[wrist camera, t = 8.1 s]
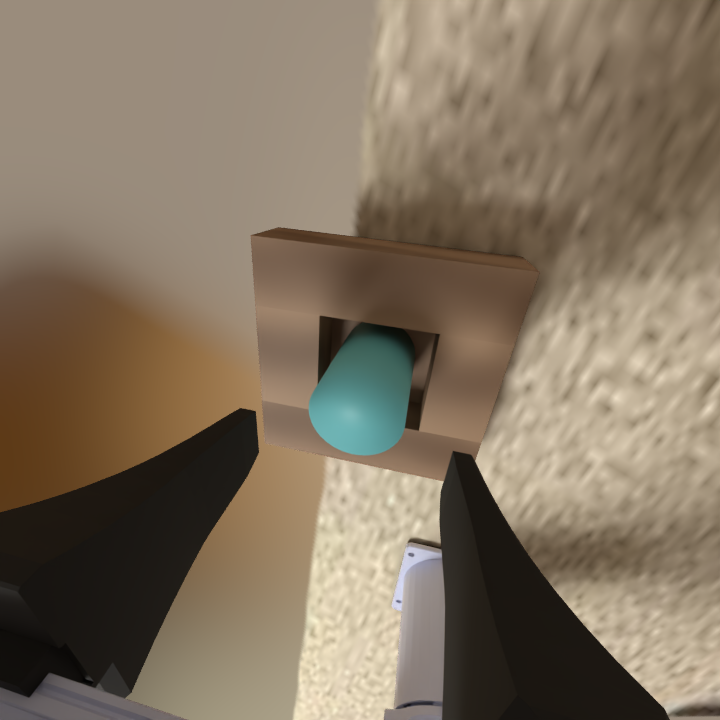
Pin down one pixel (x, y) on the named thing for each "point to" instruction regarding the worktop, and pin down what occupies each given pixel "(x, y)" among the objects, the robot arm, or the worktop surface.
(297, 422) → the socket block
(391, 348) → the teal pin
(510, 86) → the worktop surface
